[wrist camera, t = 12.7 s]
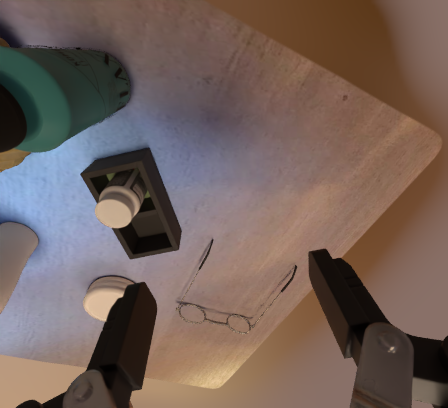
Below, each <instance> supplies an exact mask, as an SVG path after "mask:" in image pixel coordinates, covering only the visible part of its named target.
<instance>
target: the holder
mask: <svg viewBox="0 0 448 408" xmlns="http://www.w3.org/2000/svg"><path fill="white" fill-rule="evenodd" d="M134 168H137V169H139V171H140V174H141V176H142V178H143V181H144V183H145V185H146V188H147V190H148V191H147V193H146V195H145V197H144V200H143V202H142V204H141V207H140V209H139V211H138V213H137V214H136V215H135V216H134V217H133V218H132V220H131V221H130V223H129V224H128V225H127V226H125V227H122V228H112V229H113V231H114V233H115V235H116V236H117V238H118V240H119V241H120V243H121V245H122V246H123V248H124V250H125V252H126V253H127V255H128V257H129V258H130V259H135V258H140V257H145V256H150V255H155V254H161V253H166V252H171V251H176V250H179V245H180V239H181V232H182V231H181V228H180V225H179V223H178V220H177V218H176V215H175V213H174V210H173V207H172V205H171V202H170V200H169V197H168V195H167V192H166V189H165V187H164V184H163V182H162V179H161V176H160V174H159V171H158V169H157V166H156V164H155V161H154V158H153V156H152V153H151V151H150V148H146V149H142V150H137V151H133V152H129V153H124V154H120V155H115V156H111V157H106V158H102V159H97V160H95V161H94V162H93V163H91V164H90V165H89V166H88V167H87V168H86V169H85V170H84V171H83V172H82V173H81V174H80V175H81V176H82V178H83V180H84V181H85V183H86V185H87V187H88V188H89V190H90V192H91V193H92V195H93V197H94V199H95V200H96V202H97V204H98V202H99V197H100V194H101V193H102V191H103V190H104V188H105V187H106V186H107V185H108V183H109V182H110V181H111V179H112V178H113V177H114V175H115V174H116V173H117V172H120V171H125V170H129V169H134Z"/></svg>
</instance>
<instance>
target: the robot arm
mask: <svg viewBox="0 0 448 408" xmlns="http://www.w3.org/2000/svg"><path fill="white" fill-rule="evenodd" d="M308 256H309V277H310V281H311V284H312V287H313V289H314V291H315V293H316V296H317V298H318V300H319V302H320V305H321V307H322V309H323V311H324V313H325V316H326V318H327V320H328V323H329V325H330V327H331V329H332V331H333V334H334V336H335V338H336V341H337V343H338V345H339V347H340V349H341V352H342V354H343V356H344V358H351V357H353V359H354V361H355V363H356V365H357V373H356V378H355V383H354V388H353V393H352V399H351V403H350V408H411V405H412V399H413V400H417V401H421V402H426V403H430V404H432V405H433V407H434V408H448V336H447V337H446V338H445V339H444V340H443V341H441V340H434V339H428V338H422V337H416V336H412V335H409V334H406V333H404V332H402V331H401V330H400V329H398V328H397V327H395V326H393V325H392V324H391V323H390V322H389V321H388V320H387V319H386V318H385V316H384V314H383V313H382V311H381V310H380V309H379V307H378V305H377V304H376V302H375V301H374V300H373V298H372V296H371V295H370V293H369V292H368V290H367V289H366V288H365V286H363V283H362V282H361V280H360V279H359V278H358V276H357V274H356V273H355V271H354V270H353V269H352V267H351V265H349V264H348V263H346V262H345V261H344V260H343V259H341V258H336V259H332V257H331V256H330V254H329V252H328V251H327V250H326V249H320V250H314V251H309V253H308ZM156 315H157V304H156V300H155V299H154V297H153V295H152V293H151V292H150V290H149V288H148V287H147V285H146V283H145V282H140V283H135V284H130V285H128V286H127V287H126V289H125V292H124V295H123V297H121V298H118V299H117V300H116V302H115V303H114V304H113V306H112V307H111V308H110V311H109V313H108V316H107V319H106V322H105V324H104V326H103V331H101V334H100V337H99V339H98V342H97V344H96V347H95V350H94V352H93V355H92V357H91V360H90V363H89V365H88V367H87V370H86V371H85V372H84V373H82V374H81V375H79V376H78V377H77V378H76V379H75V380H74V381H73V382H72V383H71V385H70V386H69V388H68V390H67V391H66V392H65V393H62V394H60V395H58V396H56V397H55V398H53V399H51V400H49V401H47V402H45V403H43V404H41V403H39V402H37V401H35V400H28V401H25V402H23V403H22V404H20V405H18V406H17V407H16V408H133V406H132V404H131V402H130V397H131V393H132V391H134V390H140V389H142V385H143V379H144V375H145V370H146V365H147V360H148V355H149V350H150V345H151V340H152V335H153V330H154V325H155V320H156Z"/></svg>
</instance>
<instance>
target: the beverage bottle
mask: <svg viewBox="0 0 448 408" xmlns="http://www.w3.org/2000/svg"><path fill="white" fill-rule="evenodd" d="M21 46H22V45H21ZM30 46H31V45H30ZM18 47H19V46H18ZM18 47H17V48H9V47H4V46H0V153H2V152H6V151H9V150H11V149H13V148H15V149H18V150H21V151H26V152H46V151H50V150H52V149H55V148H57V147H58V146H60V145H61V144H62V143H63V142H64V141H66V140H68V139H69V138H71V137H73V136H75V135H76V134H78V133H80V132H81V131H83V130H85V129H87V128H88V127H90V126H92V125H96V124H97V123H98V122H100V121H101V120H105V118H107V117H108V116H110V115H111V117H112V114H113V113H115V112H117V111H118V110H120V109H122V108H124V106H126V103H128V102H127V101H128V99H129V97H130V96H131V95H130V86H131V84H130V82H129V81H130V80H129V79H128V78H129V77H128V76H127V74H126V72H125V70H124V67H122V66H121V65H120V64H121V63H120V62H119V61H116V60H117V59H116V58H115V59H116V60H115V59H114V58H113V57H111V56H110V55H109V53H108V54H106V53H104V52H101V51H96V50H90V49H89V50H82V49H83V48H82V49H81V48H77V47H76V49H77V50H74V49H75V48H74V49H70V48H69V49H67V48H66V47H65V49H62V48H61V49H57V47H56V49H46V48H41V47H40V48H36V47H38V45H36V47H35V48H18ZM33 47H34V46H33ZM42 47H43V46H42ZM45 47H47V46H45ZM48 47H49V46H48ZM53 47H54V46H53ZM49 48H52V47H49ZM63 48H64V47H63ZM71 48H72V47H71ZM80 49H81V50H80ZM97 50H98V49H97ZM119 63H120V64H119ZM129 100H130V99H129ZM115 114H117V113H115ZM102 122H103V121H102Z"/></svg>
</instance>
